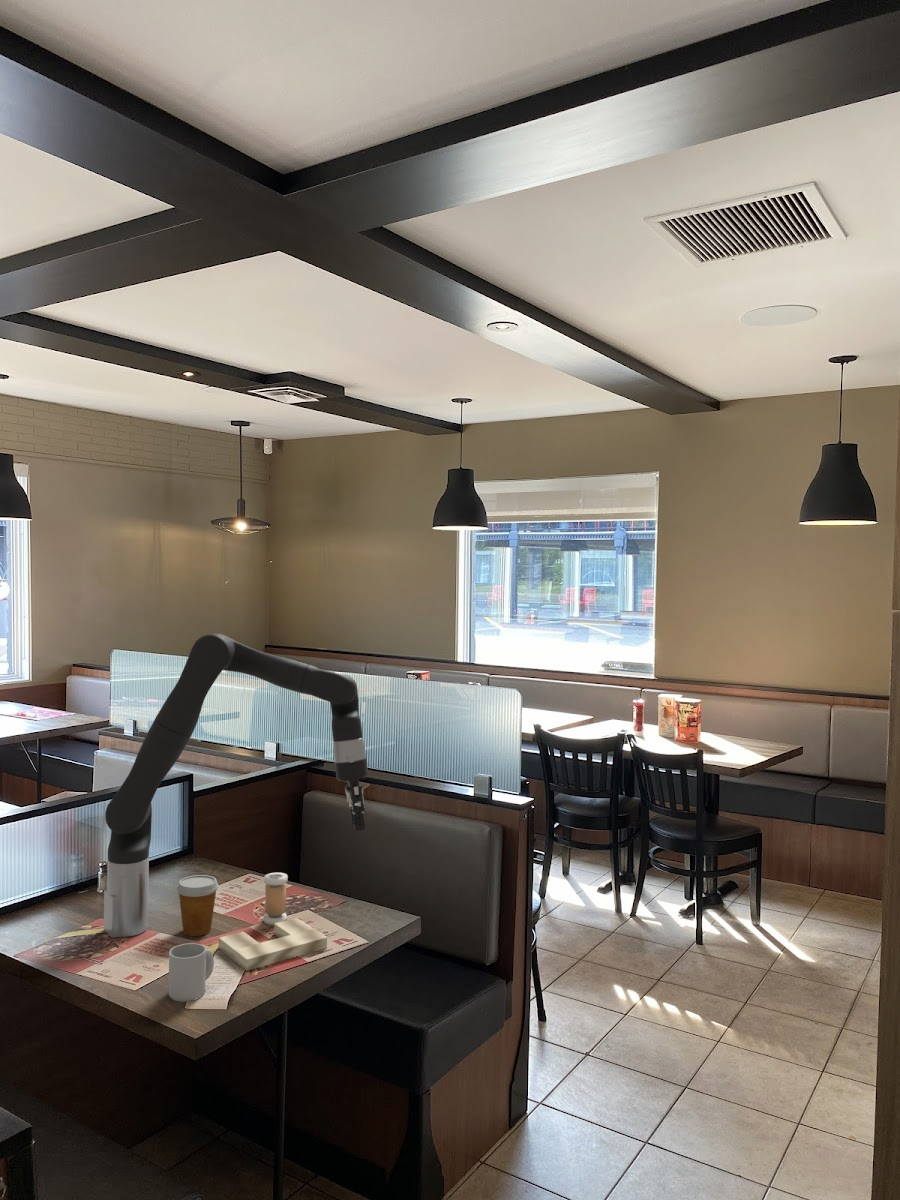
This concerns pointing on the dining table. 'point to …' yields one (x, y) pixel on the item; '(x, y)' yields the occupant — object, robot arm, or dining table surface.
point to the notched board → (273, 944)
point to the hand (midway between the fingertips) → (358, 827)
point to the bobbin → (275, 898)
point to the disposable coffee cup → (197, 903)
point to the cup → (189, 971)
